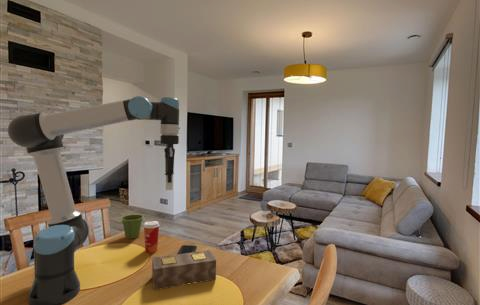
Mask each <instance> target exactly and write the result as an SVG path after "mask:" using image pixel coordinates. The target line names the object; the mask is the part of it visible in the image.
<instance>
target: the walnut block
mask: <svg viewBox="0 0 480 305" xmlns="http://www.w3.org/2000/svg"><path fill="white" fill-rule="evenodd" d="M200 253H204V255H205V257H206V259H203V260H196V261H193V259H192V255H193V254H200ZM170 257H175V260H176V263H174V264H167V265H162V259H163V258H170ZM151 260H152V261H151V262H152V264H151V273H152V274H151V275H152V276H151V277H152V278H151V280H152V285H153V286H152V287H153V290H154V291H155V289H157V290H161V289H160V288H162V289H167V288H166V287H168V288H172V287H171V286H174V287H179V286H178V285H180V286H183V285H182V284H186V285H189V284H188V283H191V284H195V283H194V282H197V283H201V282H200V281H203V282H207V281H206V280H209V281H213V280H212V279H215V280H216V279H217V259H216V258H215V256H214V254H213V252H212V251H211V250H210V249H208V250H207V249H206V250H200V251H195V252H192V253H184V254H169V255H163V256H154V257H152V259H151Z"/></svg>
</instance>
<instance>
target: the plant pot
mask: <svg viewBox="0 0 480 305" xmlns="http://www.w3.org/2000/svg"><path fill="white" fill-rule="evenodd" d="M144 217H145V216H144V215H143V214H136V213H135V214H134V213H133V214H126V215H123V216H122V217H120V220H121V221H122V225H123V230H124V237H125V239H128V240H129V239H131V240H132V239H137V238H139V237H140V234H141V227H142V223H143V218H144Z"/></svg>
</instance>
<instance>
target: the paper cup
mask: <svg viewBox="0 0 480 305" xmlns="http://www.w3.org/2000/svg"><path fill="white" fill-rule="evenodd" d="M142 227H143V230H144V231H143V232H144V234H143V235H144V250H145V252H146V253H148V254H152V253H156V252H157V251H158V243H159V232H160V230H159V228H160V224H159V221H157V220H148V221H145V222H144V224H143V225H142Z"/></svg>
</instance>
